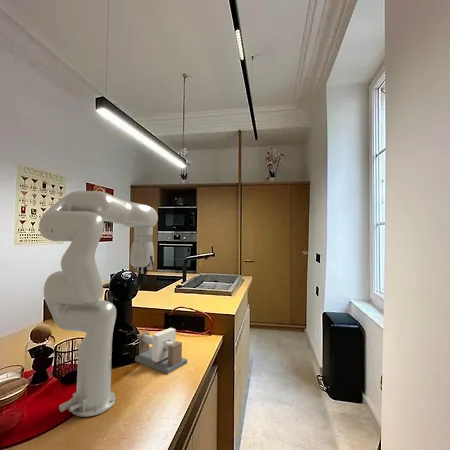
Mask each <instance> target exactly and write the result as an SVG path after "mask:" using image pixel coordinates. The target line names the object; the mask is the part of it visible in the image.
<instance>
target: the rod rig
mask: <svg viewBox="0 0 450 450" xmlns="http://www.w3.org/2000/svg"><path fill="white" fill-rule="evenodd" d="M136 335H137V338H138V340H139V355H138V356H136V357H135V361H134V362H137V363H138V364H142V365H144V366H147V367H149V368H152V369H153V370H157V371H159V372H162V373H165V374H167V375H169V374H170V373H172V372H174V371H177V369H179V368H181V367H183V366H184V365H186V364H188V359H187V358H186V357H185V358H184V357H183V356H182V355H183V354H182V353H183V343H182V342H180V341H179V340H178V341H175V343H172V342H169V341H164V345H163V348H164V349H167V350H168V357H167V358H165V359H163V360H161V361H159V362H155V361H152V346H150V345H152V337H153V335H150V332H147V331H143V332H141V333H140V332H139V334H136Z"/></svg>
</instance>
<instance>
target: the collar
mask: <svg viewBox="0 0 450 450" xmlns="http://www.w3.org/2000/svg"><path fill="white" fill-rule="evenodd" d="M176 330H177V329H176V328H174V327H169V328H167V329H163V330H160V331H158V332H156V333H153V334H152V336H153V337H152V344H151V347H152V361H155V362H159V361H161V360H163V359H165V358H167V357H168V350H167V349H164V348H163V345H164V341H169V342H172V343H175V342H176V338H177V337H176V335H177V333H176V332H177V331H176Z"/></svg>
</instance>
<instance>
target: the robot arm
mask: <svg viewBox="0 0 450 450" xmlns="http://www.w3.org/2000/svg"><path fill="white" fill-rule="evenodd" d="M158 220H159V216H158V213H157V210H155V208H154V207H151V206H149V205H147V204H143V203H137V202H134V201H133V202H132V201H129V200H124V199H121V198H119V197H117V196H114V195H112V194H110V193H108V192H106V191H105V192H104V191H101V190H74V191H72V192H69V193H68V194H66V195H64V196H63V197H62V198H61V199H60V200H58V201H57V202H56V203H55V204H54V205H52V206H51V207H50V208H48V209H47V210H46V211H44V213H43V214H42V216H41V217H40V219H39V223H38V230H39V233H40V234H41V236H42V237H43V238H44V239H46V240H48V241H52V242H70V244H69V246H68V247H67V249H66V250H65V252H64V254H63V255H62V257H61V260H60V268H61V270H59V271H55V272H53V273H51V274H50V275H48V277H47V278H46V279H45V282H44V285H43V297H44V301H45V303H46V305H47V308H48V310H49V312H50V314H51V316H52V319H53V320H54V323H55V324H56V326H57V327H58V328H60V329H61V330H65V331H70V332H82V333H85V334H86V335H85V336H84V337H83V339H82V340H81V342H79V345H78V349H77V368H76V369H77V373H76V375H77V376H76V391H75V392H74V393H72V398H70V399H69V400H67V401H65V402H63V403H62V404H59V407H58V409H59V412H60V413H63V412H64V411H66V410H68V412H70V413H72V414H73V415H75V416H77V417H82V418H83V417H84V418H86V417H88V418H89V417H94V416H97V415H100V414H103V413H105V412H106V411H108V410H110V409H111V408H112V407H113V406H114V405H115V403H116V398H117V397H116V394H115V393H114V391H111V388H112V387H111V386H112V357H113V355H112V352H113V334H114V328H115V323H116V319H117V308H116V306H115V305H114V303H112V302H110V301H108V300H103V299H102V298H103V296H104V288H103V287H104V286H103V283H102V279H101V277H100V276H101V275H100V273H99V270H98V267H97V262H96V258H95V257H96V251H97V248H98V245H99V242H100V240H101V238H102V235H103V233H104V229H105V221H106V222H109V223H111V224H112V223H113V224H120V225H123V226H125V227H128V228H133V242H132V244H131V250H130V261H129V263H130V266H132V268H134V269H135V270H136V273H137V284H146V283H147V274H148V272H149V271H150V270H153V266H154V264H155V250H154V248H155V247H154V243H153V233H154V232H153V231H154V227H155V226H156V225H157V223H158Z"/></svg>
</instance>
